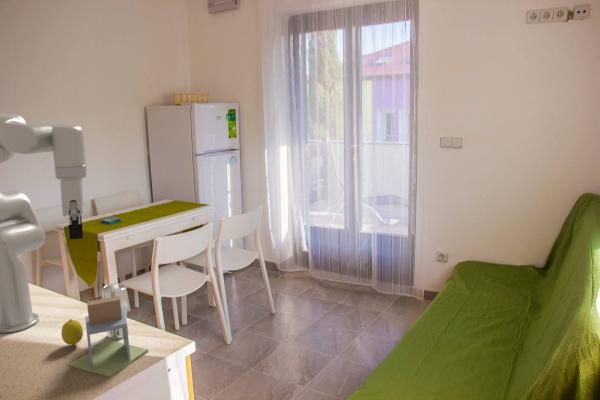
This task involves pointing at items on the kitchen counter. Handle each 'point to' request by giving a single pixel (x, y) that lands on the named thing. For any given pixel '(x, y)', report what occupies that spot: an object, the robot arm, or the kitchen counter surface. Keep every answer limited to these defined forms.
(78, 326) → the lemon
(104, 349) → the mat
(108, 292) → the beer glass
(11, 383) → the kitchen counter surface
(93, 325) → the cover
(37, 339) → the kitchen counter surface
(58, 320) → the kitchen counter surface
